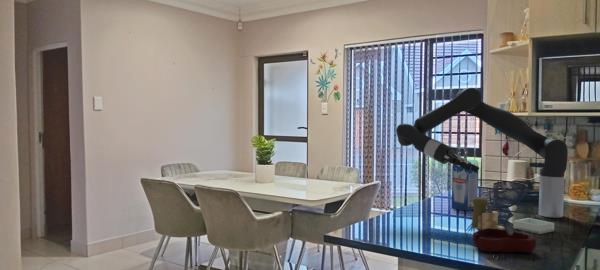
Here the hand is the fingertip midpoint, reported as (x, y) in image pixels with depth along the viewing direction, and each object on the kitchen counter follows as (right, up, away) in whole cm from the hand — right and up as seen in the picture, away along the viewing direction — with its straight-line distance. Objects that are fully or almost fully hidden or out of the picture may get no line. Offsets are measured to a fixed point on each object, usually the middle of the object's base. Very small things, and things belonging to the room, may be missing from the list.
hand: (474, 169), depth 181 cm
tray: (+20, -22, -5) cm, 31 cm away
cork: (+2, -22, -1) cm, 22 cm away
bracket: (+5, -22, -5) cm, 23 cm away
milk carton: (+8, -21, +35) cm, 41 cm away
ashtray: (-4, -23, -32) cm, 39 cm away
